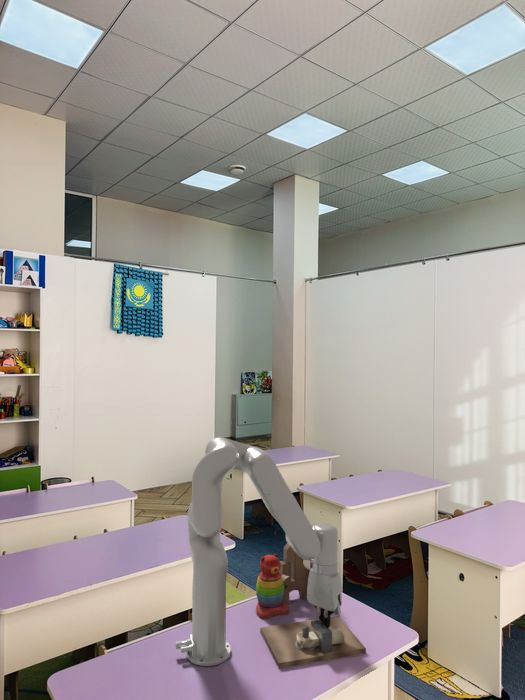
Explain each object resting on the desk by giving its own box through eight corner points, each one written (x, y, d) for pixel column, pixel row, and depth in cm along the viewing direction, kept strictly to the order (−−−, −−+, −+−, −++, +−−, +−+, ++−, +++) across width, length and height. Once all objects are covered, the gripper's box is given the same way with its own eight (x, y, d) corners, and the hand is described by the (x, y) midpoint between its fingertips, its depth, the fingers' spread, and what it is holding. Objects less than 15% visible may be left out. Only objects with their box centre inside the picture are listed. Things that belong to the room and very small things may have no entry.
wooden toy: (280, 607, 166) (280, 532, 167) (272, 598, 173) (273, 526, 173) (320, 600, 172) (321, 527, 173) (311, 591, 178) (312, 521, 179)
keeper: (322, 653, 138) (322, 633, 138) (310, 637, 146) (310, 618, 146) (331, 651, 139) (332, 631, 139) (320, 635, 147) (320, 616, 147)
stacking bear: (261, 620, 159) (261, 564, 159) (249, 605, 168) (249, 552, 168) (291, 613, 163) (291, 558, 163) (278, 599, 172) (278, 548, 172)
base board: (278, 668, 134) (278, 662, 134) (260, 632, 151) (260, 626, 151) (365, 653, 141) (365, 647, 141) (338, 620, 158) (338, 615, 158)
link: (299, 649, 139) (299, 633, 139) (294, 639, 144) (294, 624, 144) (344, 643, 142) (344, 627, 142) (338, 634, 147) (338, 619, 147)
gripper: (297, 563, 152) (297, 624, 151) (339, 578, 142) (338, 643, 141) (312, 556, 157) (311, 615, 157) (352, 570, 147) (352, 632, 147)
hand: (324, 628), depth 149 cm, fingers closed
